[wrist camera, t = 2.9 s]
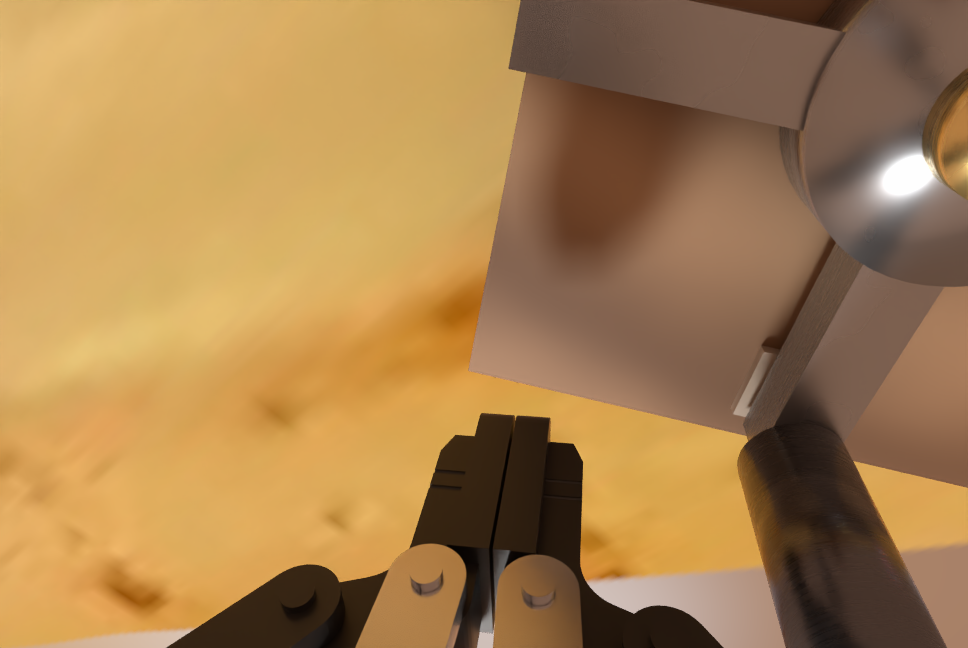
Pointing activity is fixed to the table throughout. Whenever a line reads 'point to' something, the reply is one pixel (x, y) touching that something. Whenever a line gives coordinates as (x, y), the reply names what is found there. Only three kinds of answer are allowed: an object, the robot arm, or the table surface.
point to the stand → (685, 272)
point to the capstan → (849, 268)
